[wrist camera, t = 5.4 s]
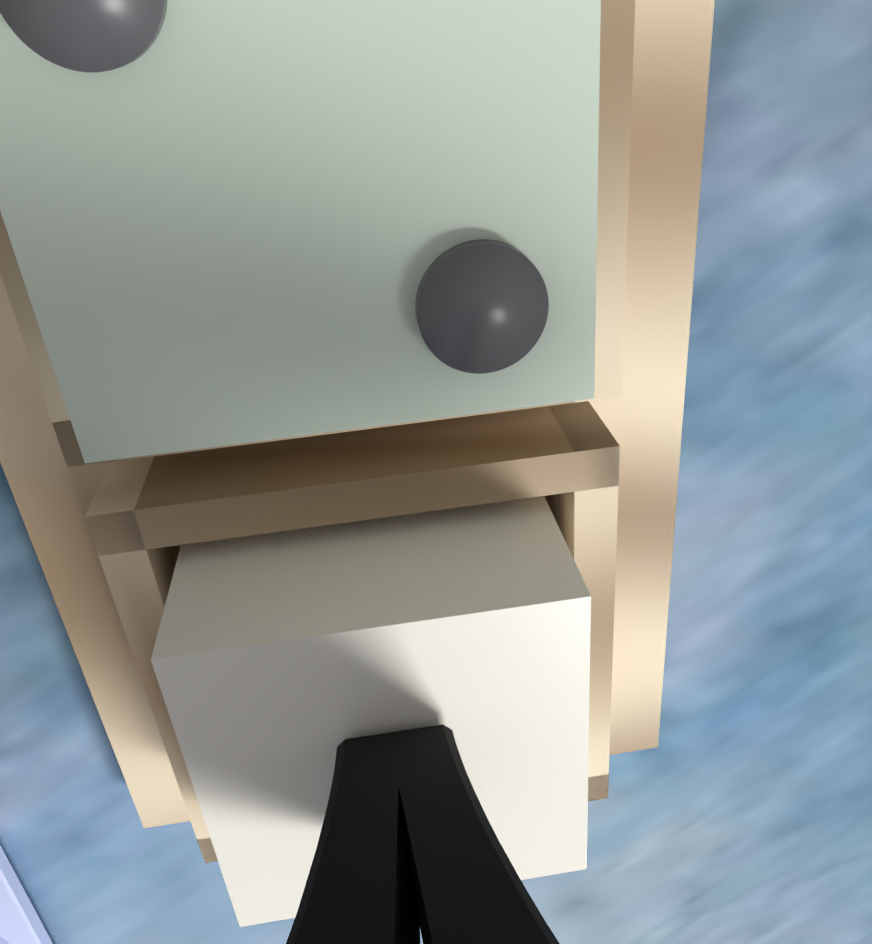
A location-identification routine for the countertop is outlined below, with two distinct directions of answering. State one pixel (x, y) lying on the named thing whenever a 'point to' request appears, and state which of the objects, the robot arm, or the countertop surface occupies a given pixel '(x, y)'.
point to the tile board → (411, 446)
